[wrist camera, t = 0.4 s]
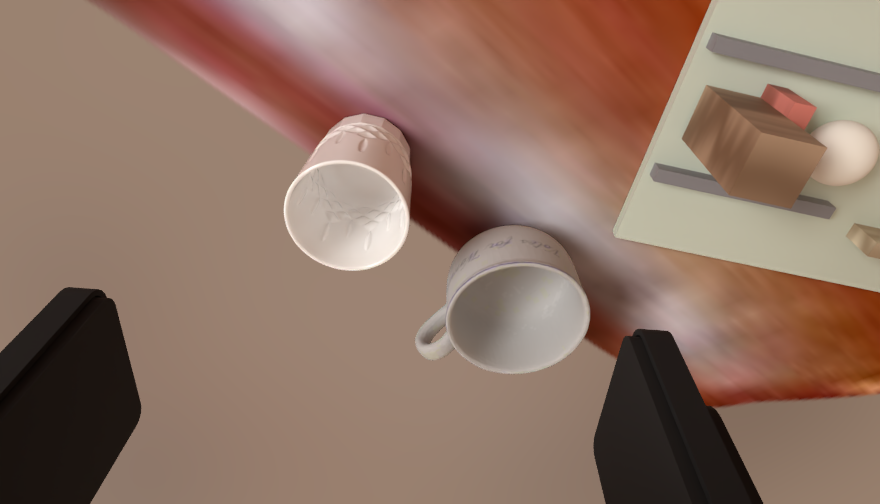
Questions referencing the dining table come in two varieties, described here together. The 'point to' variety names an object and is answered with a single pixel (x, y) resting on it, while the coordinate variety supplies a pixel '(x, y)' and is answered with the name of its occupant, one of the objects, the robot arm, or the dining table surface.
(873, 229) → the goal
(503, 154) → the dining table surface
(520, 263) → the teacup
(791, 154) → the block
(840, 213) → the board
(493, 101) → the dining table surface
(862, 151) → the ball
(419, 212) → the dining table surface
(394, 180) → the white cup
